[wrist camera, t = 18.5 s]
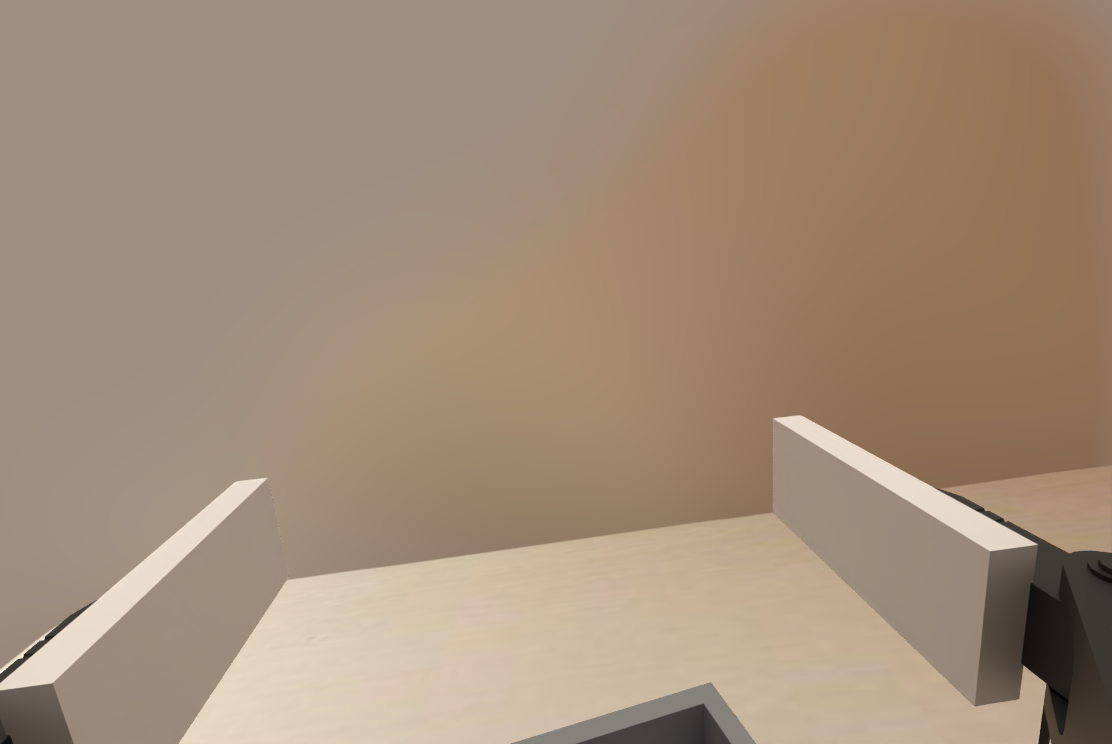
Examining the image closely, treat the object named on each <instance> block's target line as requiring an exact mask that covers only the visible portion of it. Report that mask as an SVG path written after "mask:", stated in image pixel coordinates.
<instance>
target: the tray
mask: <svg viewBox="0 0 1112 744" xmlns="http://www.w3.org/2000/svg"><path fill="white" fill-rule="evenodd" d="M512 744H756V743H755V742H754V740H753V739H752V738H751V736H750V735H749V733H748V732H747V731H746V729H745V728H744V727H743V725H742V724H741V723H740V721H739V720H738V718H737V717H736V716H735V714H734V713H733V712H732V710H731V709H730V708H729V706H728V705H727V703H726V702H725V701H724V699H723V698H722V697H721V695H720V694H719V693H718V691H717V690H716V688H715V687H714V686H713V684H712V683H711V682H710V683H707V684H704V685H701V686H697V687H694V688H691V689H688V690H684V691H681V692H678V693H675V694H671V695H668V696H665V697H662V698H658V699H655V700H652V701H648V702H645V703H642V704H639V705H635V706H632V707H629V708H626V709H622V710H619V711H616V712H613V713H609V714H606V715H603V716H600V717H596V718H593V719H590V720H587V721H583V722H580V723H577V724H574V725H570V726H567V727H564V728H560V729H557V730H554V731H551V732H547V733H544V734H541V735H538V736H534V737H531V738H528V739H525V740H521V741H518V742H515V743H512Z"/></svg>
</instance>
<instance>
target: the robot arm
mask: <svg viewBox="0 0 1112 744" xmlns="http://www.w3.org/2000/svg"><path fill="white" fill-rule="evenodd" d="M773 513H774V514H775V515H776V516H777V517H778V518H779V519H780V520H781V521H782V522H783V523H784V524H785V525H786V526H787V527H789V528H790V529H791V530H792V531H793V532H794V533H795V534H796V535H797V536H798V537H799V538H800V539H801V540H802V541H803V542H804V543H805V544H806V545H807V546H808V547H809V548H810V549H811V550H812V551H814V552H815V553H816V554H817V555H818V556H819V557H820V558H821V559H822V560H823V561H824V562H825V563H826V564H827V565H828V566H829V567H830V568H831V569H832V570H833V571H834V572H835V573H836V574H837V575H838V576H840V577H841V578H842V579H843V580H844V581H845V582H846V583H847V584H848V585H849V586H850V587H851V588H852V589H853V590H854V591H855V592H856V593H857V594H858V595H859V596H860V597H861V598H862V599H863V600H865V601H866V602H867V603H868V604H869V605H870V606H871V607H872V608H873V609H874V610H875V611H876V612H877V613H878V614H879V615H880V616H881V617H882V618H883V619H884V620H885V621H886V622H887V623H888V624H889V625H891V626H892V627H893V628H894V629H895V630H896V631H897V632H898V633H899V634H900V635H901V636H902V637H903V638H904V639H905V640H906V641H907V642H908V643H909V644H910V645H911V646H912V647H913V648H914V649H916V650H917V651H918V652H919V653H920V654H921V655H922V656H923V657H924V658H925V659H926V660H927V661H928V662H929V663H930V664H931V665H932V666H933V667H934V668H935V669H936V670H937V671H938V672H939V673H940V674H942V675H943V676H944V677H945V678H946V679H947V680H948V681H949V682H950V683H951V684H952V685H953V686H954V687H955V688H956V689H957V690H958V691H959V692H960V693H961V694H962V695H963V696H964V697H965V698H967V699H968V700H969V701H970V702H971V703H972V704H973V705H974V706H979V705H986V704H992V703H998V702H1004V701H1010V700H1016V699H1019V696H1020V688H1021V680H1022V672H1023V665H1024V666H1025V667H1026V668H1028V669H1029V670H1030V671H1031V672H1033V673H1034V674H1035V675H1037V676H1038V677H1039V678H1040V679H1042V680H1043V681H1044V682H1045V683H1047V684H1046V692H1045V699H1044V706H1043V714H1042V721H1041V729H1040V736H1039V744H1049V742H1050V739H1051V743H1052V744H1112V553H1107V552H1098V551H1078V552H1072V553H1070V554H1069V553H1067V552H1065V551H1063V550H1062V549H1060V548H1058V547H1056V546H1054V545H1052V544H1050V543H1048V542H1046V541H1045V540H1043V539H1041V538H1039V537H1037V536H1035V535H1033V534H1031V533H1030V532H1028V531H1026V530H1024V529H1022V528H1020V527H1018V526H1016V525H1014V524H1013V523H1011V522H1009V521H1008V522H1005V521H1004V519H1003V518H1001V517H999V516H997V515H996V514H994V513H992V512H990V511H985V510H984V508H982V507H981V506H979V505H977V504H975V503H973V502H971V501H969V500H967V499H965V498H964V497H962V496H959V495H956V494H953V493H950V492H947V491H944V490H940V489H937V488H934V487H931V486H929V485H927V484H926V483H924V482H922V481H920V480H918V479H917V478H915V477H913V476H911V475H909V474H907V473H906V472H904V471H902V470H900V469H898V468H896V467H894V466H893V465H891V464H889V463H887V462H885V461H884V460H881V459H880V458H878V457H876V456H874V455H872V454H871V453H869V452H867V451H865V450H863V449H862V448H860V447H858V446H856V445H854V444H852V443H850V442H849V441H847V440H845V439H843V438H841V437H839V436H838V435H836V434H834V433H832V432H830V431H828V430H826V429H825V428H823V427H821V426H819V425H817V424H816V423H814V422H812V421H810V420H808V419H806V418H805V417H803V416H801V415H799V416H790V417H781V418H774V419H773ZM288 577H289V571H288V567H287V563H286V558H285V554H284V550H283V545H282V540H281V535H280V531H279V526H278V522H277V517H276V513H275V509H274V504H273V499H272V495H271V490H270V486H269V481H268V478H262V479H254V480H245V481H237V482H235V483H234V484H233V485H231V486H230V487H229V488H228V489H227V490H226V491H224V492H223V493H222V494H221V495H220V496H219V497H217V498H216V499H215V500H214V501H213V502H212V503H210V504H209V505H208V506H207V507H206V508H205V509H203V510H202V511H201V512H200V513H199V514H198V515H197V516H195V517H194V518H193V519H192V520H191V521H189V522H188V523H187V524H186V525H185V526H184V527H182V528H181V529H180V530H179V531H178V532H176V533H175V534H174V535H173V536H172V537H171V538H169V540H167V541H166V542H165V543H164V544H162V545H161V546H160V547H159V548H158V549H157V550H156V551H154V552H153V553H152V554H151V555H150V556H148V557H147V558H146V559H145V560H144V561H143V562H141V563H140V564H139V565H138V566H137V567H136V568H134V569H133V570H132V571H131V572H130V573H128V574H127V575H126V576H125V577H124V578H123V579H121V580H120V581H119V582H118V583H117V584H116V585H114V586H113V587H112V588H111V589H110V590H109V591H107V592H106V593H105V594H104V595H103V596H102V597H100V598H99V599H98V600H96V601H94V602H93V603H91V604H89V605H87V606H86V607H84V608H82V609H81V610H79V611H77V612H76V613H74V614H72V615H70V616H69V617H68V618H67V619H65V620H64V621H63V622H62V623H61V624H59V625H58V626H57V627H56V628H55V629H53V630H52V631H51V632H50V633H49V634H48V635H46V636H45V640H43V641H39V642H38V643H37V644H36V645H34V646H33V647H32V648H31V649H30V650H28V651H27V652H26V653H25V654H24V657H23V658H22V659H18V660H16V661H15V662H14V663H13V664H12V665H10V666H9V667H8V668H7V669H6V670H5V671H3V672H2V673H1V674H0V744H178V743H179V742H180V740H181V739H182V737H183V736H184V734H185V733H186V731H187V730H188V728H189V727H190V725H191V724H192V722H193V721H194V719H195V718H196V716H197V715H198V713H199V712H200V710H201V709H202V707H203V706H204V704H205V703H206V701H207V700H208V698H209V697H210V695H211V694H212V692H213V691H214V689H215V688H216V686H217V685H218V683H219V682H220V680H221V678H222V677H223V675H224V674H225V672H226V671H227V669H228V668H229V666H230V665H231V663H232V662H233V660H234V659H235V657H236V656H237V654H238V653H239V651H240V650H241V648H242V647H243V645H244V644H245V642H246V641H247V639H248V638H249V636H250V635H251V633H252V632H253V630H254V629H255V627H256V626H257V624H258V623H259V621H260V620H261V618H262V617H263V615H264V614H265V612H266V611H267V609H268V608H269V606H270V604H271V603H272V601H273V600H274V598H275V597H276V595H277V594H278V592H279V591H280V589H281V588H282V586H283V585H284V583H285V582H286V580H287V579H288Z"/></svg>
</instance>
